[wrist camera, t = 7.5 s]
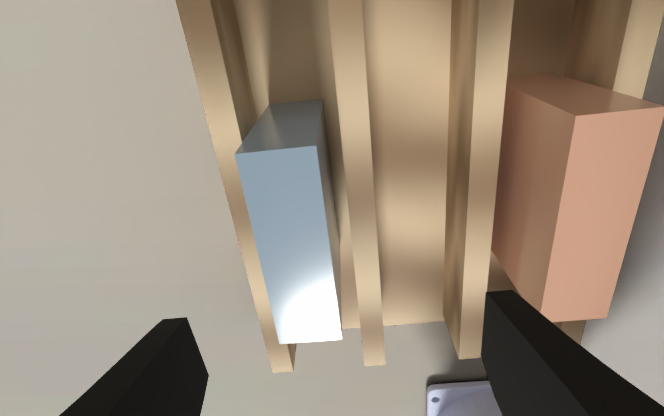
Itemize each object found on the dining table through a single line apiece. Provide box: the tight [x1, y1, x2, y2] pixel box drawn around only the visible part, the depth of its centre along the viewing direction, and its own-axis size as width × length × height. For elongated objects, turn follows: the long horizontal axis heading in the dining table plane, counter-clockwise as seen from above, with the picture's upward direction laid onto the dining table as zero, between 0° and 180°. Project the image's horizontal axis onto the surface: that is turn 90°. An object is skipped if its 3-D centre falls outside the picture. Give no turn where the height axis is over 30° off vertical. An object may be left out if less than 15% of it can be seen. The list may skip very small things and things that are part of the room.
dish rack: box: [176, 0, 664, 373], centre depth 16 cm, size 18×16×4 cm
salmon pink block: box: [491, 72, 664, 322], centre depth 14 cm, size 7×2×6 cm, turn 6°
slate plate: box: [234, 99, 342, 344], centre depth 14 cm, size 7×2×6 cm, turn 6°
